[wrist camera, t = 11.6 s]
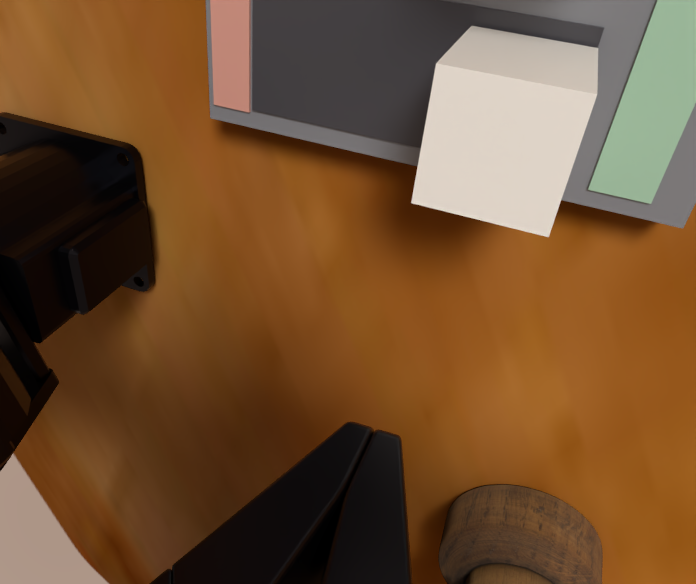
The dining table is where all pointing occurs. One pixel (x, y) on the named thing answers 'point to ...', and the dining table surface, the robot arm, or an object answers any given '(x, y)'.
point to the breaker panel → (418, 72)
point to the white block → (505, 127)
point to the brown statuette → (518, 540)
